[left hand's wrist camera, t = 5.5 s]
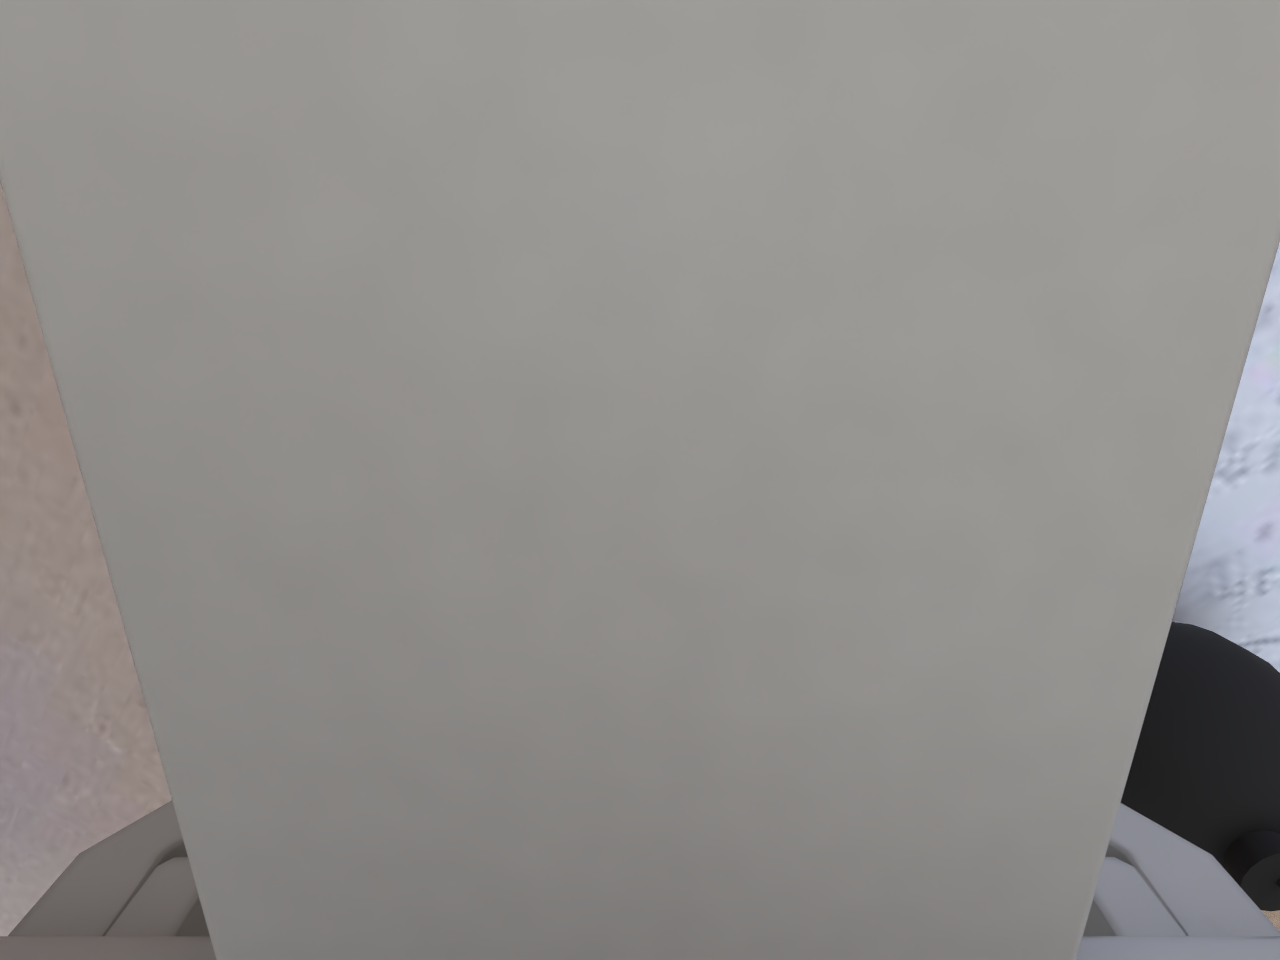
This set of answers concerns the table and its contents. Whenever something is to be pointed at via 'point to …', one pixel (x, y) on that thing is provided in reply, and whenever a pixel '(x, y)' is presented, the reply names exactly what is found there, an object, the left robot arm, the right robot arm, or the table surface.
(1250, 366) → the table surface
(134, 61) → the bar
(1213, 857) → the left robot arm
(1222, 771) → the bomb
